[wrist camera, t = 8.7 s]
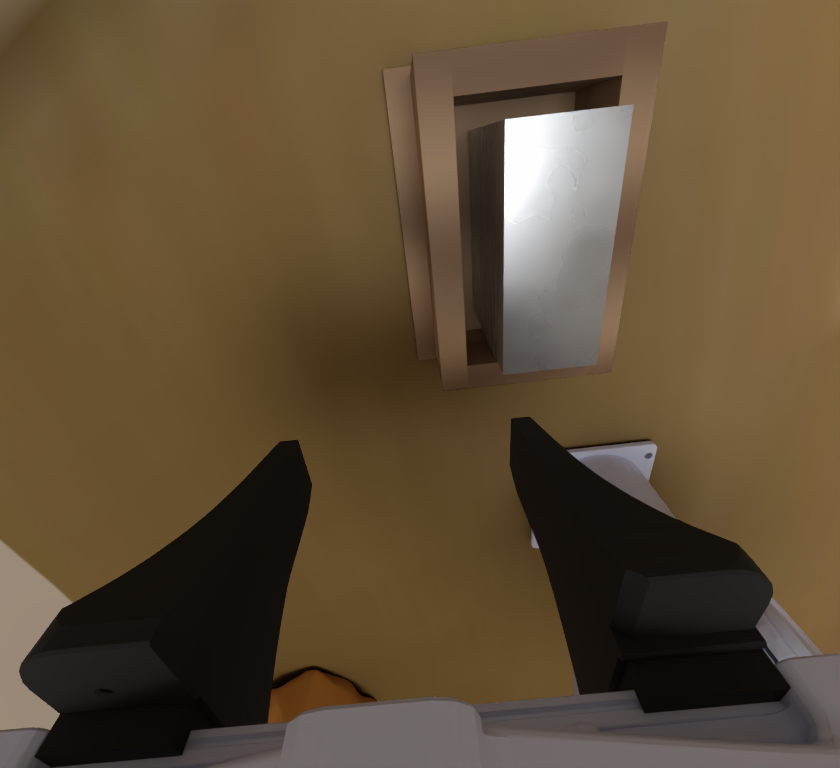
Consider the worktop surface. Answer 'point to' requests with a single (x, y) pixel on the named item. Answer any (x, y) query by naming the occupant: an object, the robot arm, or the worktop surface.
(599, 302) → the silver metal block
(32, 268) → the worktop surface
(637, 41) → the brown rectangular frame
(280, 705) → the coffee package
